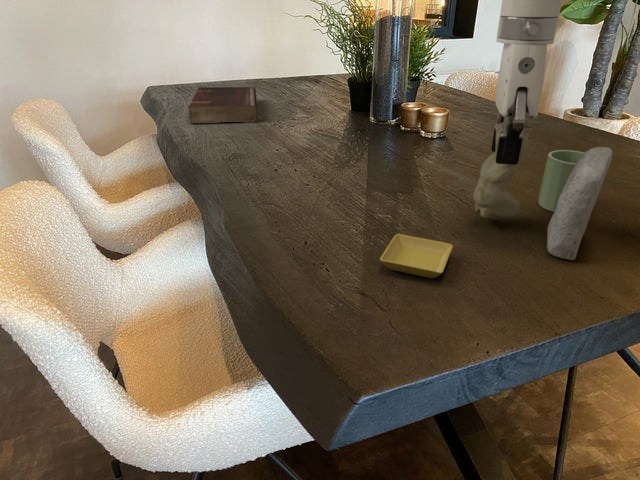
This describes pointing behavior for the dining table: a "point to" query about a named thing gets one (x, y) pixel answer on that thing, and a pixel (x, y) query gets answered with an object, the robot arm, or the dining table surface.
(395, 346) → the dining table surface
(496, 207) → the sculpture
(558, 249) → the decorative stone
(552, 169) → the sage cup
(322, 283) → the dining table surface
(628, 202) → the dining table surface
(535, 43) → the robot arm
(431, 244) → the yellow shallow tray
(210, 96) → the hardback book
